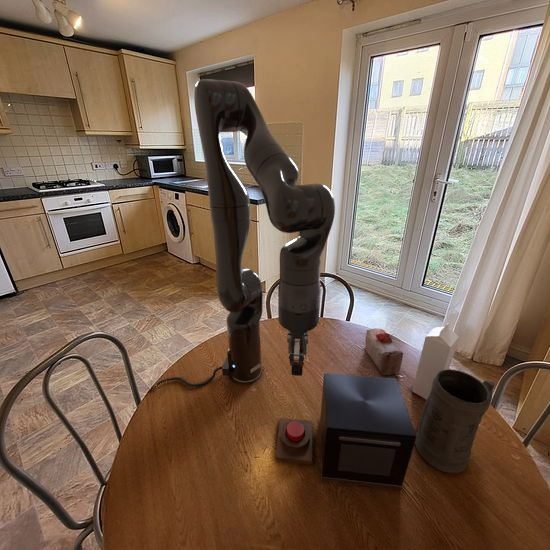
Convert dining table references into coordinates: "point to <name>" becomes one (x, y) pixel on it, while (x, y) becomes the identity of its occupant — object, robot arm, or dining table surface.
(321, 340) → the dining table surface
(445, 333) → the milk
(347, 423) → the oven
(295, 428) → the button
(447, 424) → the beer stein
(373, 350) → the food item
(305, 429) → the housing
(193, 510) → the dining table surface
